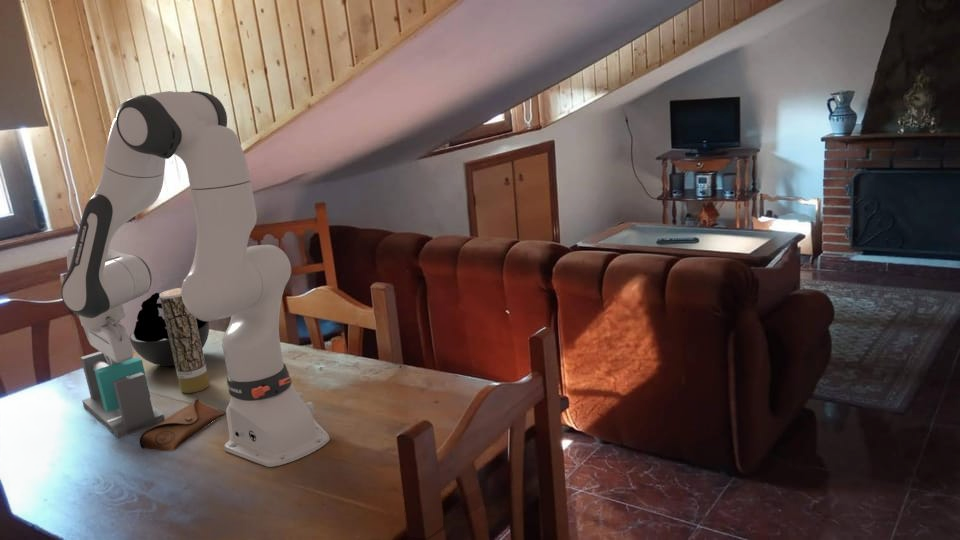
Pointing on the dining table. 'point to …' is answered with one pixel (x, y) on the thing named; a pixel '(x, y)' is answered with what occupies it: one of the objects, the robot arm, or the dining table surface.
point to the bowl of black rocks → (157, 334)
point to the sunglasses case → (179, 427)
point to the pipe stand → (120, 400)
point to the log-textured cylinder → (184, 342)
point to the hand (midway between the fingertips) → (116, 371)
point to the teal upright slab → (113, 373)
